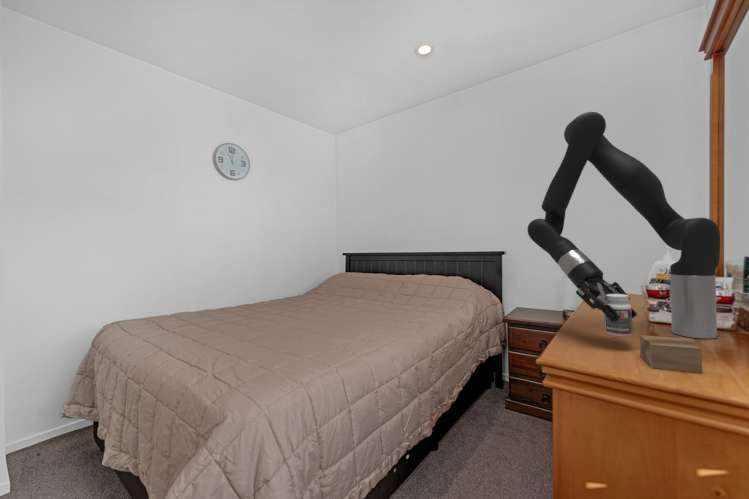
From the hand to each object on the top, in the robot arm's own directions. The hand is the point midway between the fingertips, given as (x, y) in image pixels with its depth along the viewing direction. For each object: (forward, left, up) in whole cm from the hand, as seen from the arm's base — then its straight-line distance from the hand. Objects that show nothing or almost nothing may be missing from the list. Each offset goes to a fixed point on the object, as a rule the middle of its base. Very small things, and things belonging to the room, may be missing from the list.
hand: (625, 318), depth 81 cm
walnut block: (+9, +6, -8) cm, 13 cm away
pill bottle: (-1, -1, -5) cm, 5 cm away
